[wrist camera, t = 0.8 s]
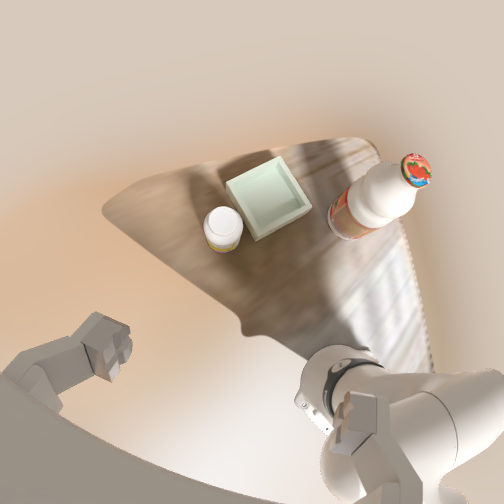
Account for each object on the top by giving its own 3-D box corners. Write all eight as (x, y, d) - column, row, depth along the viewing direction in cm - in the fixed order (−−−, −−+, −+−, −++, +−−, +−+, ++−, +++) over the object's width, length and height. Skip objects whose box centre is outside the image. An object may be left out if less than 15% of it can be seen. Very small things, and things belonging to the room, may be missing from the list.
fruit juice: (328, 241, 64) (397, 200, 37) (323, 197, 66) (383, 134, 38) (369, 240, 65) (450, 203, 38) (363, 198, 67) (436, 142, 39)
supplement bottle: (223, 213, 63) (223, 191, 51) (247, 236, 63) (253, 220, 50) (198, 236, 62) (193, 220, 50) (223, 260, 62) (223, 249, 49)
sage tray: (306, 213, 65) (312, 206, 60) (255, 242, 63) (258, 236, 58) (276, 165, 66) (280, 155, 61) (225, 190, 64) (226, 181, 59)
